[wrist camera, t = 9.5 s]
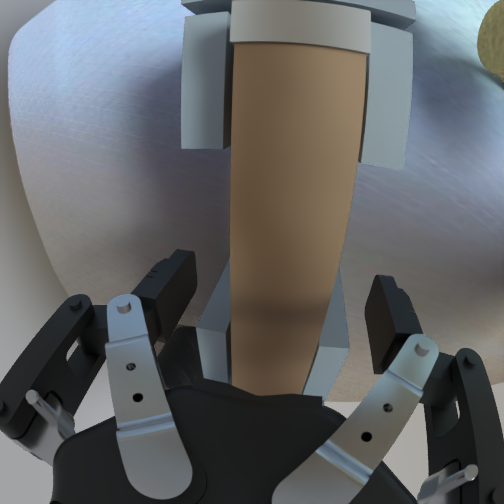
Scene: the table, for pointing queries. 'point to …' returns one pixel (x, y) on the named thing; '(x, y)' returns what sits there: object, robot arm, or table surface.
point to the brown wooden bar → (290, 179)
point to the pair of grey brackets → (219, 137)
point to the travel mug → (181, 358)
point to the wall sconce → (492, 40)
